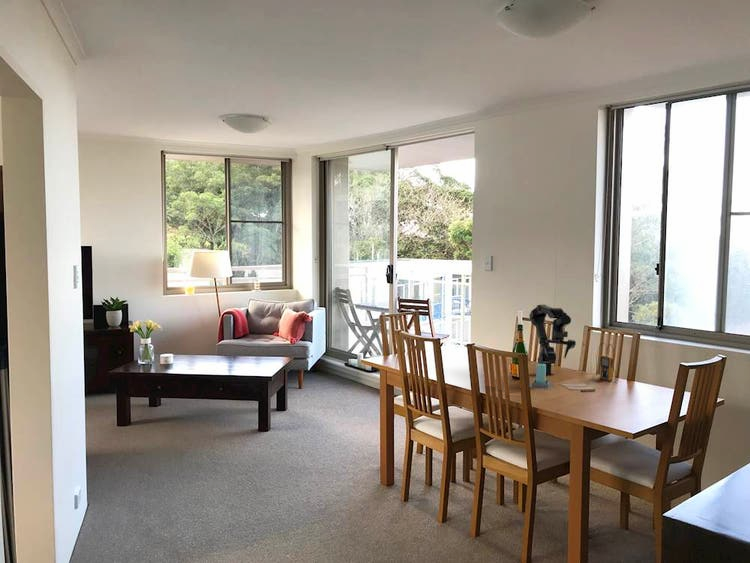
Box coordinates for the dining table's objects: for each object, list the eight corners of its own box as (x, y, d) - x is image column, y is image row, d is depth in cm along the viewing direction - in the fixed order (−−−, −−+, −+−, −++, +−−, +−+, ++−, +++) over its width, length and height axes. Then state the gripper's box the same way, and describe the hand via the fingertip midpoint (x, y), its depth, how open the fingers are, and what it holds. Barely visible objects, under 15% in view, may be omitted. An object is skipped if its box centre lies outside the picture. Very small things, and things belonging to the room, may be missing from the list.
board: (559, 386, 310) (559, 383, 310) (582, 385, 312) (582, 382, 312) (571, 392, 297) (571, 389, 297) (595, 391, 299) (595, 388, 299)
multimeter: (584, 377, 329) (585, 342, 327) (598, 376, 333) (599, 341, 331) (604, 383, 315) (605, 346, 314) (618, 382, 319) (619, 345, 318)
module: (536, 383, 310) (537, 363, 309) (545, 384, 309) (545, 364, 308) (535, 386, 305) (536, 365, 305) (544, 386, 304) (545, 365, 303)
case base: (531, 383, 316) (531, 377, 315) (552, 385, 312) (552, 379, 311) (528, 389, 302) (528, 383, 302) (550, 391, 299) (550, 385, 298)
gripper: (542, 322, 315) (540, 350, 309) (578, 327, 312) (576, 355, 306) (539, 329, 326) (537, 356, 320) (574, 333, 322) (572, 361, 316)
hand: (556, 357), depth 315 cm, fingers open, 9 cm apart
